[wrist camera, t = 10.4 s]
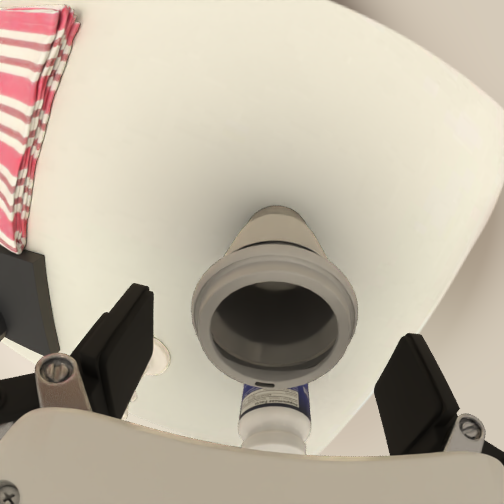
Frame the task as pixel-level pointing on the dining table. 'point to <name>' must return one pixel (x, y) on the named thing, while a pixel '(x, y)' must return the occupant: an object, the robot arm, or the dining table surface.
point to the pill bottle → (275, 419)
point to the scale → (26, 302)
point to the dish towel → (27, 103)
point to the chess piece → (154, 365)
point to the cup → (274, 305)
